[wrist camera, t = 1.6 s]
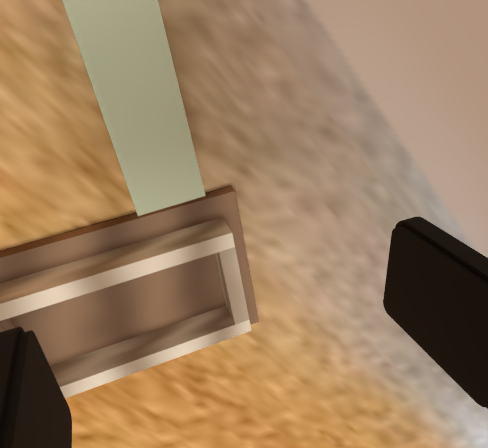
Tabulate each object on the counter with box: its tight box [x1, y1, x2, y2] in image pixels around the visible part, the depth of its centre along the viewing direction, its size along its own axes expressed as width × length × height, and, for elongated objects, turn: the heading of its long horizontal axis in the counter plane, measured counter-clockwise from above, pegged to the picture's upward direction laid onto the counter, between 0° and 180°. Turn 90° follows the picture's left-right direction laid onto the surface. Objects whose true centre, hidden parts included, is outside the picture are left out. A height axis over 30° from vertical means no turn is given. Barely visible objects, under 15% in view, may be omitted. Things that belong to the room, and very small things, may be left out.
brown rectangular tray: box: [0, 186, 259, 398], centre depth 30 cm, size 20×13×4 cm, turn 99°
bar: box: [62, 0, 206, 216], centre depth 23 cm, size 4×12×6 cm, turn 10°
